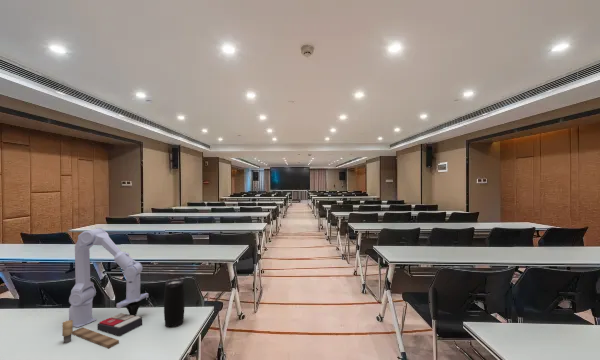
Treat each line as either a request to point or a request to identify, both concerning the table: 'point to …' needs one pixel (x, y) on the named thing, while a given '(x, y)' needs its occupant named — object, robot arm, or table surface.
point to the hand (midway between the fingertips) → (132, 317)
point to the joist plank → (96, 337)
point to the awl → (67, 330)
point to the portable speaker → (174, 302)
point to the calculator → (120, 324)
